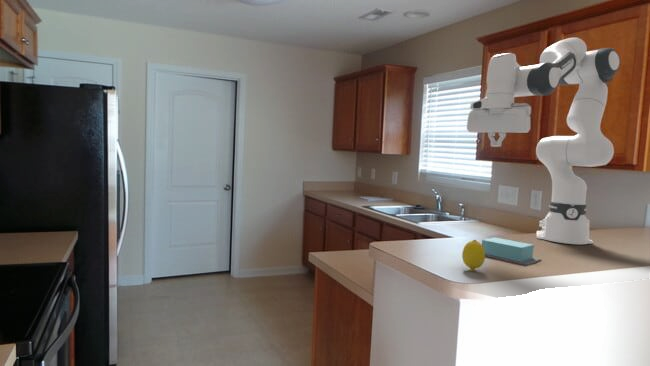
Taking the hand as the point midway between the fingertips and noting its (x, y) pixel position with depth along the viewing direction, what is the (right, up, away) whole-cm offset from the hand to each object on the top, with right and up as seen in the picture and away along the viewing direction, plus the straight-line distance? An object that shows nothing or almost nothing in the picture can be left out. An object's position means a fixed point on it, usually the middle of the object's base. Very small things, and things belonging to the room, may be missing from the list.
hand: (495, 146), depth 144 cm
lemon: (-18, -35, -31) cm, 50 cm away
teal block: (-6, -31, -8) cm, 33 cm away
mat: (-1, -34, -14) cm, 37 cm away
